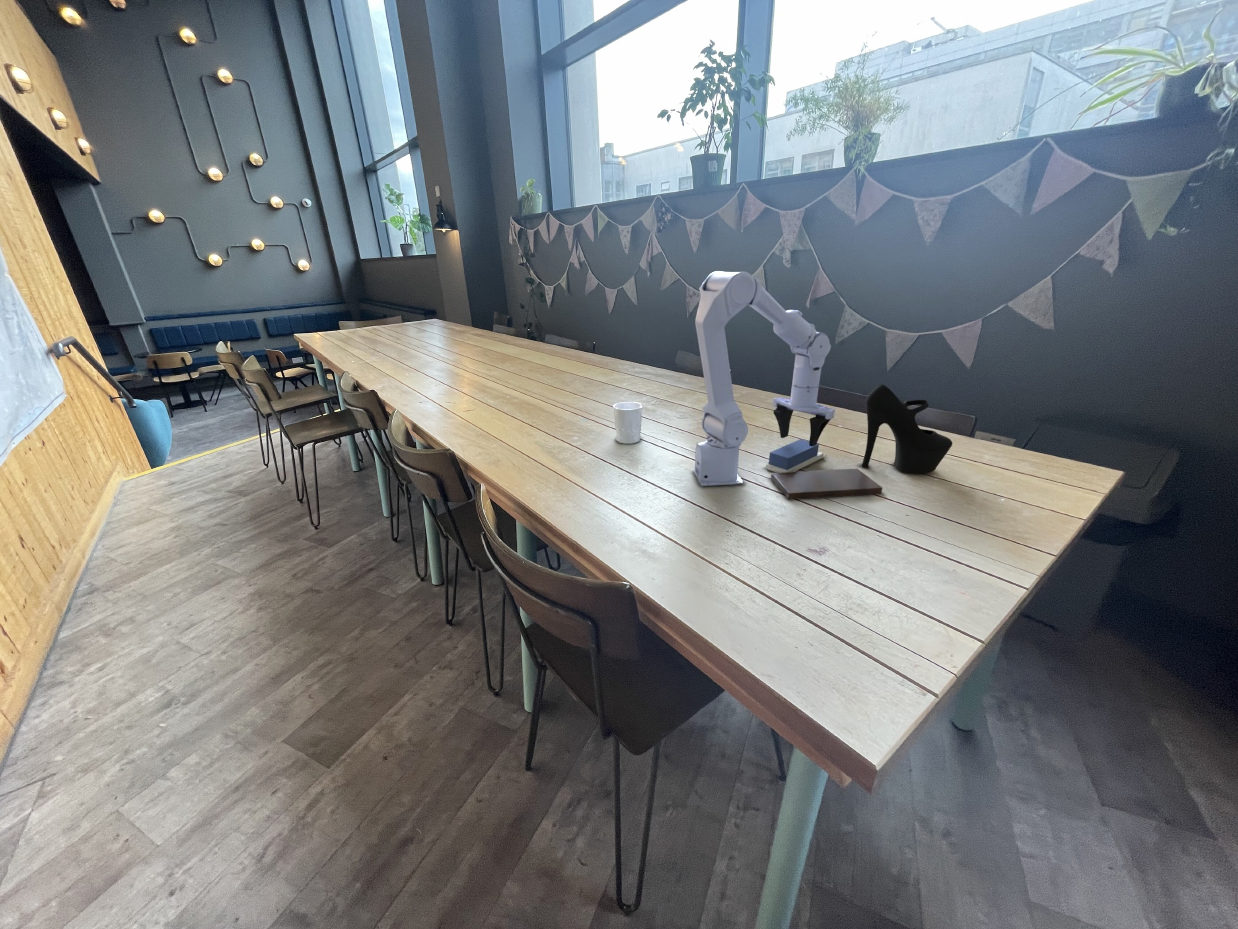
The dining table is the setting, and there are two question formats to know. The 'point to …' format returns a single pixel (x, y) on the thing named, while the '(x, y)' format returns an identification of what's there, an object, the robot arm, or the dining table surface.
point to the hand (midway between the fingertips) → (798, 441)
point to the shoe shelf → (825, 483)
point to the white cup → (628, 421)
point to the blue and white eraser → (793, 457)
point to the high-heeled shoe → (904, 433)
